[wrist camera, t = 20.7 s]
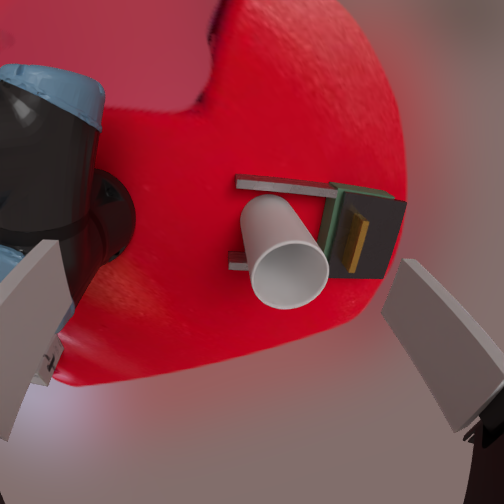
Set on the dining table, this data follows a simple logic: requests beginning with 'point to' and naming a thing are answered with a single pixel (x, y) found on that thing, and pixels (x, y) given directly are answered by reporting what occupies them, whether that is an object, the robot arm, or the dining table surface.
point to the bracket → (278, 185)
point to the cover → (364, 236)
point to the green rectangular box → (333, 211)
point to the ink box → (48, 362)
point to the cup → (281, 254)
